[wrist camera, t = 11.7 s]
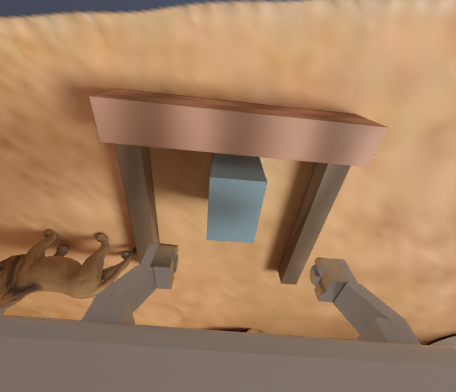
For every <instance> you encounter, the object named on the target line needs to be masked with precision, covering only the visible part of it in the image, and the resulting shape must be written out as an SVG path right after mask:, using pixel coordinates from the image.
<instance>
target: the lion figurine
mask: <svg viewBox="0 0 456 392" xmlns="http://www.w3.org/2000/svg"><path fill="white" fill-rule="evenodd" d="M56 236H57V234H56V233H55V232H53V231H52V230H47V231H46V232H45V237H46V238H45V239H44V240H42V241H41V242H39V243H38V244H36V245H35V246H34V247H32V248H31V249H30V250H29V251H28V253H27V254H21V255H15V256H11V257H9V258H8V259H5V260H3V261H1V262H0V315H3V314H4V312H5V310H7V309H8V308H9V307H11V306H12V305H14V304H16V303H17V302H19V301H20V300H21V299H22V298H24V297H25V296H26V295H28V294H30V293H33V292H37V291H54V292H60V293H64V294H66V295H69V296H71V297H73V298H79V299H85V298H90V297H93V296H96V295H97V294H98V293H100V292H101V291H103V290H104V289H105V288H107V287H108V286H109V285H110V284H112V283H113V282H114V280H115V279H116V278H117V277H118V276H119V275H120V273H121V272H122V271H123V270H124V269H125V268H126V267H127V266H128V264H129V262H130V261H131V259H132V256H133V255H134V254H135V253H136V252H137V249H136V247H135V248H133V249H132V250H131V252H124V253H123V254H122V255H121V257H122V258H123V259H124V261H122V262H121V263H119V264H117V265H115V266H111V267H108V268H106V269H103V263H104V257H105V255H106V254H107V253H108V252H109V251H110V245H109V240H108V237H107V236H106V235H105V234H103V233H99V234H97V237H96V239H97V241H99V242H101V247H100V248H99V250H97V251H96V252H95V253H94V254H92V255H91V256H89V257H88V258H87V259H86V260H85V262H84V263H83V265H81V264H80V263H79V262H78V261H76V260H74V259H71V258H68V257H64V256H65V255H66V254H67V253H68V251H69V250H68V248H67V247H66V246H59V247H58V248H57V252H56V253H55V255H54V256H48V257H45V251H46V249H47V248H48V246H49V245H50V244H52V243H53V242H54V241H55V240H56Z"/></svg>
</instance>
